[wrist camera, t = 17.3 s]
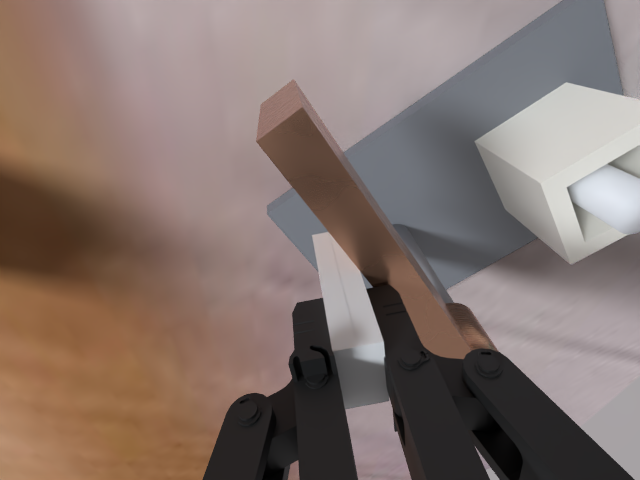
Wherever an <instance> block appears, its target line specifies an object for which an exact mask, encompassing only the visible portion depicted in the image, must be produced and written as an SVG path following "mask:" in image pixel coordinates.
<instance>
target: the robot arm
mask: <svg viewBox="0 0 640 480" xmlns="http://www.w3.org/2000/svg"><path fill="white" fill-rule="evenodd" d="M312 238H313V243H314V249H315V255H316V261H317V266H318V272H319V278H320V283H321V289H322V295H323V298H320V299H314V300H309V301H304V302H299V303H297V304H296V306H295V308H294V311H293V313H292V317H293V332H294V348H295V350H294V352H293V353H292V354H291V356H290V359H289V368H290V371H291V375H292V380H291V381H290V383H289V384H288V385H287V386H286V387H285V388H283V389H281V390H280V391H278V392H276V393H274V394H272V395H270V396H269V397H266V396H264V395H263V394H258V393H251V394H246V395H244V396H242V397H240V398H238V399H237V400H236V401H235V402H234V403H233V404H232V405H231V406H230V408H229V410H228V412H227V413H226V416H225V419H224V422H223V425H222V427H221V430H220V433H219V436H218V438H217V441H216V444H215V447H214V449H213V452H212V455H211V458H210V461H209V463H208V466H207V469H206V472H205V474H204V477H203V480H288V474H289V469H290V464H292V463H293V462H295V461H297V460H299V477H300V480H358V477H357V471H356V466H355V460H354V455H353V450H352V444H351V439H350V433H349V428H348V423H347V417H346V412H345V409H349V408H355V407H360V406H365V405H370V404H376V403H381V402H386V401H389V397H390V401H391V404H392V407H393V417H394V429H395V432H396V431H398V434H399V438H400V441H401V445H402V448H403V451H404V455H405V458H406V462H407V465H408V468H409V472H410V475H411V479H412V480H490V479H489V477H488V474H487V472H486V470H485V468H484V466H483V463H482V461H481V459H480V457H479V455H478V453H477V450H478V451H479V452H480V454H481V455H482V456H483V458H484V459H485V460H486V462H487V463H488V464H489V466H490V467H491V468H492V470H493V471H494V472H495V474H496V475H497V476H498V478H499V479H500V480H634V479H633V478H632V477H631V476H630V475H629V474H628V473H627V472H626V471H625V470H624V469H623V468H622V467H621V466H620V465H619V464H618V463H617V462H616V461H614V459H613V458H611V457H610V456H609V455H608V454H607V453H606V452H605V451H604V450H603V449H602V448H601V447H600V446H599V445H598V444H597V443H596V442H595V441H594V440H593V439H592V438H591V437H589V435H587V434H586V433H585V432H584V431H583V430H582V429H581V428H580V427H579V426H578V425H577V424H576V423H575V422H574V421H573V420H572V419H571V418H570V417H569V416H568V415H567V414H566V413H565V412H563V411H562V410H561V409H560V408H559V407H558V406H557V405H556V404H555V403H554V402H553V401H552V400H551V399H550V398H549V397H548V396H547V395H546V394H545V393H544V392H543V391H542V390H541V389H539V388H538V387H537V386H536V385H535V384H534V383H533V382H532V381H531V380H530V379H529V378H528V377H527V376H526V375H525V374H524V373H523V372H522V371H521V370H520V369H519V368H518V367H517V366H515V365H514V364H513V363H512V362H511V361H510V360H509V359H508V358H507V357H506V356H504V355H503V354H501V353H500V352H497V351H494V350H492V349H484V348H480V349H475V350H472V351H470V352H469V353H468V354H466V356H465V358H464V359H456V358H446V357H441V356H438V355H435V354H433V353H432V352H430V351H429V350H428V349H426V348H425V347H424V346H423V344H422V343H421V341H420V339H419V336H418V334H417V332H416V330H415V327H414V325H413V323H412V321H411V319H410V316H409V314H408V312H407V310H406V307H405V305H404V304H403V301H402V299H401V296H400V294H399V292H398V291H397V290H395V289H394V288H393V287H392V286H391V285H384V286H378V287H373V288H368V289H366V287H365V284H364V281H363V278H362V276H361V273H360V270H359V269H358V268H357V267H356V265H355V264H354V263H353V262H352V260H351V259H350V258H349V257H348V255H347V254H346V253H345V252H344V251H343V249H342V248H341V247H340V246H339V244H338V243H337V242H336V241H335V239H334V238H333V237H332V236H331V234H330V233H329V232H325V233H320V234H315V235H312ZM474 445H475V446H474ZM475 447H476V448H477V450H476V448H475Z"/></svg>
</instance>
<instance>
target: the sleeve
mask: <svg viewBox="0 0 640 480" xmlns="http://www.w3.org/2000/svg"><path fill="white" fill-rule="evenodd" d="M475 144H476V146H477V148H478V150H479V153H480V155H481V157H482V159H483V161H484V164H485V166H486V168H487V170H488V172H489V175H490V177H491V179H492V181H493V183H494V186H495V188H496V190H497V192H498V194H499V197H500V199H501V201H502V203H503V205H504V208H505V210H506V211H508V212H509V213H510V214H511V215H512V216H513V217H515V218H516V219H517V220H518V221H519V222H521V223H522V224H523V225H524V226H525V227H526V228H528V229H529V230H530V231H531V232H532V233H534V234H535V235H536V236H537V237H538V238H539V239H541V240H542V241H543V242H544V243H545V244H547V245H548V246H549V247H550V248H551V249H552V250H554V251H555V252H556V253H557V254H558V255H560V256H561V257H562V258H563V259H564V260H565V261H567V262H568V263H569V264H570V265H572V264H574V263H576V262H578V261H580V260H582V259H583V258H585V257H587V256H589V255H591V254H593V253H595V252H597V251H598V250H600V249H602V248H604V247H606V246H608V245H610V244H612V243H613V242H615V241H617V240H619V239H621V238H623V237H625V236H627V235H629V234H623V233H621V232H619V231H618V230H616V229H615V228H613V227H611V226H610V225H608V224H607V223H605V222H603V221H602V220H600V219H599V218H597V217H596V216H594V215H592V214H591V213H589V212H588V211H586V210H584V209H583V208H581V207H580V206H578V205H576V204H575V203H573V202H572V201H571V199H570V196H569V193H568V190H567V187H568V186H570V185H571V184H573V183H575V182H576V181H578V180H580V179H582V178H583V177H585V176H587V175H589V174H590V173H592V172H594V171H595V170H597V169H599V168H601V167H602V166H604V165H606V164H608V165H611V166H613V167H615V168H617V169H620V170H622V171H624V172H626V173H628V174H631V175H633V176H635V177H637V178H639V179H640V100H639V99H635V98H630V97H626V96H622V95H618V94H613V93H609V92H605V91H601V90H597V89H592V88H588V87H584V86H580V85H575V84H571V83H567V82H566V83H564V84H563V85H561V86H560V87H558V88H557V89H555V90H554V91H552V92H550V93H549V94H547V95H546V96H544V97H543V98H541V99H539V100H538V101H536V102H535V103H533V104H532V105H530V106H529V107H527V108H525V109H524V110H522V111H521V112H519V113H518V114H516V115H515V116H513V117H511V118H510V119H508V120H507V121H505V122H504V123H502V124H500V125H499V126H497V127H496V128H494V129H493V130H491V131H490V132H488V133H486V134H485V135H483V136H482V137H480V138H479V139H477V140H476V141H475Z"/></svg>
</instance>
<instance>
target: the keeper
mask: <svg viewBox="0 0 640 480" xmlns="http://www.w3.org/2000/svg"><path fill="white" fill-rule="evenodd" d="M256 142H257V143H258V144H259V146H260V147H261V148H262V149H263V151H264V152H265V153H266V154H267V156H268V157H269V158H270V159H271V161H272V162H273V163H274V164H275V166H276V167H277V168H278V169H279V171H280V172H281V173H282V174H283V176H284V177H285V178H286V179H287V181H288V182H289V183H290V184H291V186H292V187H293V188H294V189H295V191H296V192H297V193H298V194H299V196H300V197H301V198H302V199H303V201H304V202H305V203H306V204H307V206H308V207H309V208H310V209H311V211H312V212H313V213H314V214H315V216H316V217H317V218H318V219H319V221H320V222H321V223H322V224H323V226H324V227H325V228H326V229H327V231H328V232H329V233H330V234H331V236H332V237H333V238H334V239H335V241H336V242H337V243H338V244H339V246H340V247H341V248H342V249H343V251H344V252H345V253H346V254H347V255H348V257H349V258H350V259H351V260H352V262H353V263H354V264H355V265H356V267H357V268H358V269H359V270H360V272H361V273H362V274H363V275H364V277H365V278H366V279H367V280H368V282H369V283H370V284H371V285H372V287H378V286H384V285H391V286H392V287H393V288H394V289H395V290H397V291H398V292H399V294H400V296H401V299H402V301H403V304H404V305H405V307H406V310H407V312H408V314H409V316H410V319H411V321H412V323H413V325H414V327H415V330H416V332H417V334H418V336H419V339H420V341H421V343H422V344H423V346H424V347H425V348H426V349H428V350H429V351H430V352H432V353H433V354H435V355H438V356H441V357H446V358H456V359H464V358H465V356H466V354H468V353H469V352H470V351H472V350H475V349H480V348H484V349H492V350H494V351H497V352H499V351H498V350H497V348H496V347H495V345H494V344H493V342H492V341H491V339H490V338H489V336H488V335H487V333H486V332H485V330H484V329H483V327H482V326H481V324H480V323H479V321H478V320H477V318H476V317H475V315H474V314H473V312H472V311H471V310H470V309H469V308H468V307H467V306H465V305H463V304H459V303H445V302H444V301H443V299H442V298H441V296H440V295H439V293H438V292H437V291H436V289H435V288H434V286H433V285H432V283H431V282H430V280H429V279H428V277H427V276H426V274H425V273H424V271H423V270H422V268H421V267H420V265H419V264H418V262H417V261H416V259H415V258H414V256H413V255H412V254H411V252H410V251H409V249H408V248H407V246H406V245H405V243H404V242H403V240H402V239H401V237H400V236H399V234H398V233H397V231H396V230H395V228H394V227H393V225H392V224H391V222H390V221H389V219H388V218H387V217H386V215H385V214H384V212H383V211H382V209H381V208H380V206H379V205H378V203H377V202H376V200H375V199H374V197H373V196H372V194H371V193H370V191H369V190H368V188H367V187H366V185H365V184H364V182H363V181H362V179H361V178H360V177H359V175H358V174H357V172H356V171H355V169H354V168H353V166H352V165H351V163H350V162H349V160H348V159H347V157H346V156H345V154H344V153H343V151H342V150H341V148H340V147H339V145H338V144H337V142H336V141H335V140H334V138H333V137H332V135H331V134H330V132H329V131H328V129H327V128H326V126H325V125H324V123H323V122H322V120H321V119H320V117H319V116H318V114H317V113H316V111H315V110H314V108H313V107H312V105H311V104H310V103H309V101H308V100H307V98H306V97H305V95H304V94H303V92H302V91H301V89H300V88H299V86H298V85H297V83H296V82H295V80H294V79H293V80H292V81H291V82H290V83H288V84H287V85H286V86H284V87H283V88H282V89H280V90H279V91H278V92H277V93H275V94H274V95H273V96H271V97H270V98H269V99H267V100H266V101H265V102H264V103H262V104H261V108H260V115H259V123H258V131H257V139H256Z"/></svg>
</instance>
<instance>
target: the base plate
mask: <svg viewBox="0 0 640 480" xmlns="http://www.w3.org/2000/svg"><path fill="white" fill-rule="evenodd" d="M566 82H567V83H571V84H575V85H580V86H584V87H588V88H592V89H597V90H601V91H605V92H609V93H613V94H618V95H622V96H623V91H622V86H621V82H620V77H619V72H618V67H617V62H616V58H615V53H614V48H613V43H612V39H611V34H610V29H609V24H608V19H607V15H606V10H605V5H604V0H563V1H561V2H560V3H558V4H557V5H555V6H554V7H553V8H551V9H550V10H548V11H547V12H545V13H544V14H542V15H541V16H540V17H538V18H537V19H535V20H534V21H532V22H531V23H530V24H528V25H527V26H525V27H524V28H522V29H521V30H519V31H518V32H517V33H515V34H514V35H512V36H511V37H509V38H508V39H506V40H505V41H504V42H502V43H501V44H499V45H498V46H496V47H495V48H494V49H492V50H491V51H489V52H488V53H486V54H485V55H483V56H482V57H481V58H479V59H478V60H476V61H475V62H473V63H472V64H470V65H469V66H468V67H466V68H465V69H463V70H462V71H460V72H459V73H457V74H456V75H455V76H453V77H452V78H450V79H449V80H447V81H446V82H445V83H443V84H442V85H440V86H439V87H437V88H436V89H434V90H433V91H432V92H430V93H429V94H427V95H426V96H424V97H423V98H421V99H420V100H419V101H417V102H416V103H414V104H413V105H411V106H410V107H409V108H407V109H406V110H404V111H403V112H401V113H400V114H398V115H397V116H396V117H394V118H393V119H391V120H390V121H388V122H387V123H385V124H384V125H383V126H381V127H380V128H378V129H377V130H375V131H374V132H372V133H371V134H370V135H368V136H367V137H365V138H364V139H362V140H361V141H360V142H358V143H357V144H355V145H354V146H352V147H351V148H349V149H348V150H347V151H345V152H344V154H345V156H346V157H347V159H348V160H349V162H350V163H351V165H352V166H353V168H354V169H355V171H356V172H357V174H358V175H359V177H360V178H361V179H362V181H363V182H364V184H365V185H366V187H367V188H368V190H369V191H370V193H371V194H372V196H373V197H374V199H375V200H376V202H377V203H378V205H379V206H380V208H381V209H382V211H383V212H384V214H385V215H386V217H387V218H388V219H389V221H390V222H391V224H392V225H393V227H394V228H395V230H396V231H397V233H398V234H399V236H400V237H401V239H402V240H403V242H404V243H405V245H406V246H407V248H408V249H409V251H410V252H411V254H412V255H413V256H414V258H415V259H416V261H417V262H418V264H419V265H420V267H421V268H422V270H423V271H424V273H425V274H426V276H427V277H428V279H429V280H430V282H431V283H432V285H433V286H434V288H435V289H436V291H437V292H438V293H439V295H440V296H441V298H442V299H443V301H444V302H445V303H454V302H453V301H452V299H451V297H450V296H449V294H448V293H447V291H446V289H448V288H449V287H451V286H453V285H455V284H457V283H458V282H460V281H462V280H464V279H465V278H467V277H469V276H471V275H473V274H474V273H476V272H478V271H480V270H481V269H483V268H485V267H487V266H489V265H490V264H492V263H494V262H496V261H497V260H499V259H501V258H503V257H505V256H506V255H508V254H510V253H512V252H513V251H515V250H517V249H519V248H521V247H522V246H524V245H526V244H528V243H530V242H531V241H533V240H535V239H537V238H538V237H537V236H536V235H535V234H534V233H532V232H531V231H530V230H529V229H528V228H526V227H525V226H524V225H523V224H522V223H521V222H519V221H518V220H517V219H516V218H515V217H513V216H512V215H511V214H510V213H509V212H508V211H506V210H505V208H504V205H503V203H502V201H501V199H500V197H499V194H498V192H497V190H496V188H495V186H494V183H493V181H492V179H491V177H490V175H489V172H488V170H487V168H486V166H485V164H484V161H483V159H482V157H481V155H480V153H479V150H478V148H477V146H476V144H475V141H476V140H477V139H479V138H480V137H482V136H483V135H485V134H486V133H488V132H490V131H491V130H493V129H494V128H496V127H497V126H499V125H500V124H502V123H504V122H505V121H507V120H508V119H510V118H511V117H513V116H515V115H516V114H518V113H519V112H521V111H522V110H524V109H525V108H527V107H529V106H530V105H532V104H533V103H535V102H536V101H538V100H539V99H541V98H543V97H544V96H546V95H547V94H549V93H550V92H552V91H554V90H555V89H557V88H558V87H560V86H561V85H563V84H564V83H566ZM567 190H568V193H569V196H570V199H571V201H572V202H573V203H575V204H576V205H578V206H580V207H581V208H583V209H584V210H586V211H588V212H589V213H591V214H592V215H594V216H596V217H597V218H599V219H600V220H602V221H603V222H605V223H607V224H608V225H610V226H611V227H613V228H615V229H616V230H618V231H619V232H621V233H623V234H635V233H639V232H640V179H639V178H637V177H635V176H633V175H631V174H628V173H626V172H624V171H622V170H620V169H617V168H615V167H613V166H611V165H608V164H606V165H604V166H602V167H601V168H599V169H597V170H595V171H594V172H592V173H590V174H589V175H587V176H585V177H583V178H582V179H580V180H578V181H576V182H575V183H573V184H571V185H570V186H568V187H567ZM267 214H268V216H269V217H270V218H271V219H272V220H273V221H274V222H275V224H276V225H277V226H278V227H279V228H280V229H281V230H282V231H283V233H284V234H285V235H286V236H287V237H288V238H289V239H290V240H291V242H292V243H293V244H294V245H295V246H296V247H297V248H298V250H299V251H300V252H301V253H302V254H303V255H304V256H305V257H306V259H307V260H308V261H309V262H310V263H311V264H312V265H313V266H314V268H315V269H316V270H317V271H318V266H317V261H316V255H315V249H314V243H313V238H312V235H315V234H320V233H325V232H328V231H327V229H326V228H325V227H324V226H323V224H322V223H321V222H320V221H319V219H318V218H317V217H316V216H315V214H314V213H313V212H312V211H311V209H310V208H309V207H308V206H307V204H306V203H305V202H304V201H303V199H302V198H301V197H300V196H299V194H298V193H297V192H296V191H295V189H294V188H292V189H290V190H289V191H287V192H286V193H285V194H283V195H282V196H280V197H279V198H277V199H276V200H275V201H273V202H272V203H270V204H269V205H267ZM360 273H361V272H360ZM361 276H362V278H363V281H364V284H365V287H366V289H368V288H373V287H372V285H371V284H370V283H369V282H368V280H367V279H366V278H365V277H364V275H363V274H362V273H361Z"/></svg>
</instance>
